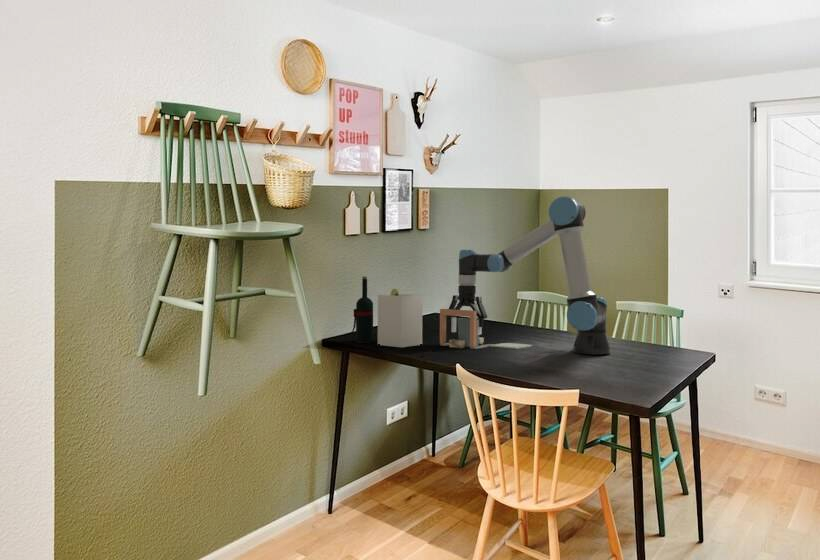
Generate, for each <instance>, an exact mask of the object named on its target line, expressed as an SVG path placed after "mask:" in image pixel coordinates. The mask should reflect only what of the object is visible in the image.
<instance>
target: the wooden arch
mask: <svg viewBox="0 0 820 560" xmlns="http://www.w3.org/2000/svg"><path fill="white" fill-rule="evenodd" d="M447 315H451V316H456V317H465V318H470V347H476V327H477V318H478V317H477V311H473V310H472V309H471V310H470V309H469V310H467V309H460V310H453V309H449V308H440V309H439V345H440V344H446V343H447ZM470 347H469V348H470Z"/></svg>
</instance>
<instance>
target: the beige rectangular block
mask: <svg viewBox="0 0 820 560" xmlns="http://www.w3.org/2000/svg"><path fill="white" fill-rule="evenodd" d="M484 339H485V337H480V336H479V343H478V345H479V344H481V345H484V344H483V343H484V342H485V340H484ZM448 343H449V345H448V346H449V348H457V349H463V348H466V347H465V340H459V339H449V340H448Z"/></svg>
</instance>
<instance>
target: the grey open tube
mask: <svg viewBox="0 0 820 560" xmlns="http://www.w3.org/2000/svg"><path fill="white" fill-rule="evenodd" d="M477 320H478V317H477ZM456 321H457V330H458V331H457V333H458V334H457V335H458V336H457V337H458V340H465V347H464V348H466V347H467V348H470V317H458V318H457V317H456ZM479 337H480V335H477V327H476V346H479V344H478V343H479Z"/></svg>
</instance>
